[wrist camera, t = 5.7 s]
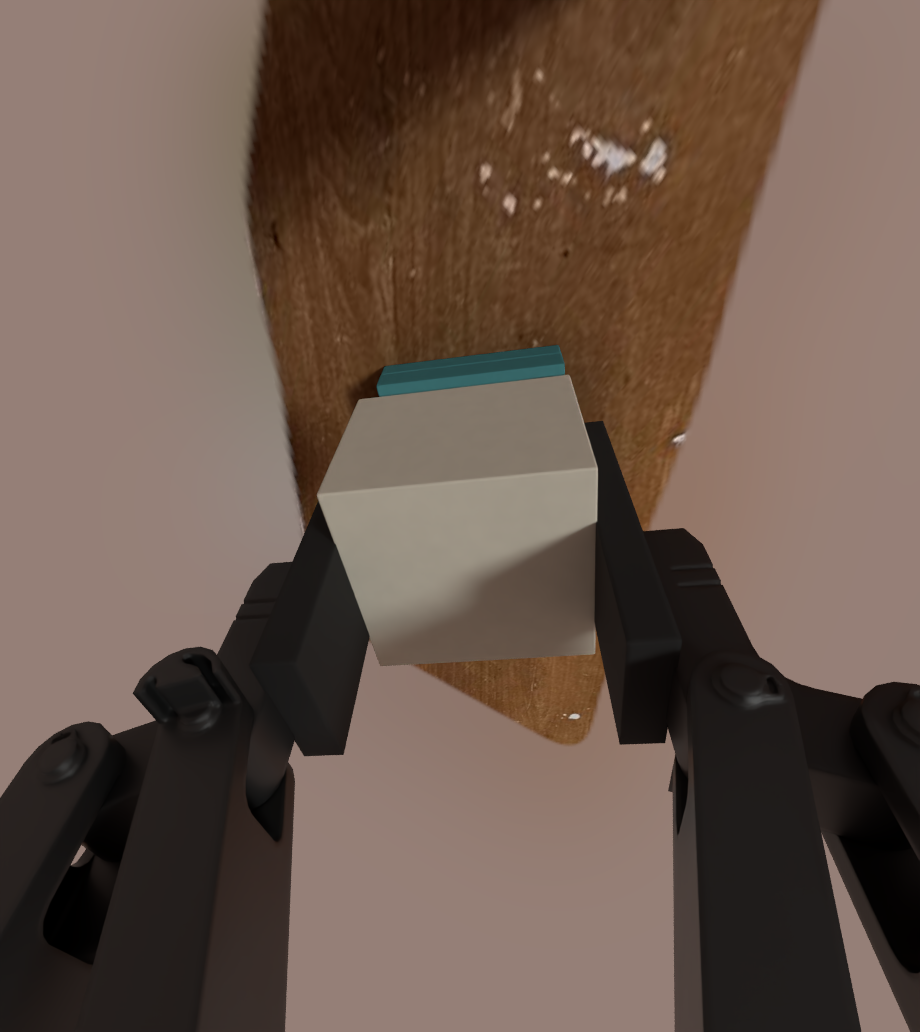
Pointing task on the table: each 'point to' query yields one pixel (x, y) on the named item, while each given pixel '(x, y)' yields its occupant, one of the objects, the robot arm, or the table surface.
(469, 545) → the light gray cube
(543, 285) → the table surface
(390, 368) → the shallow tray
